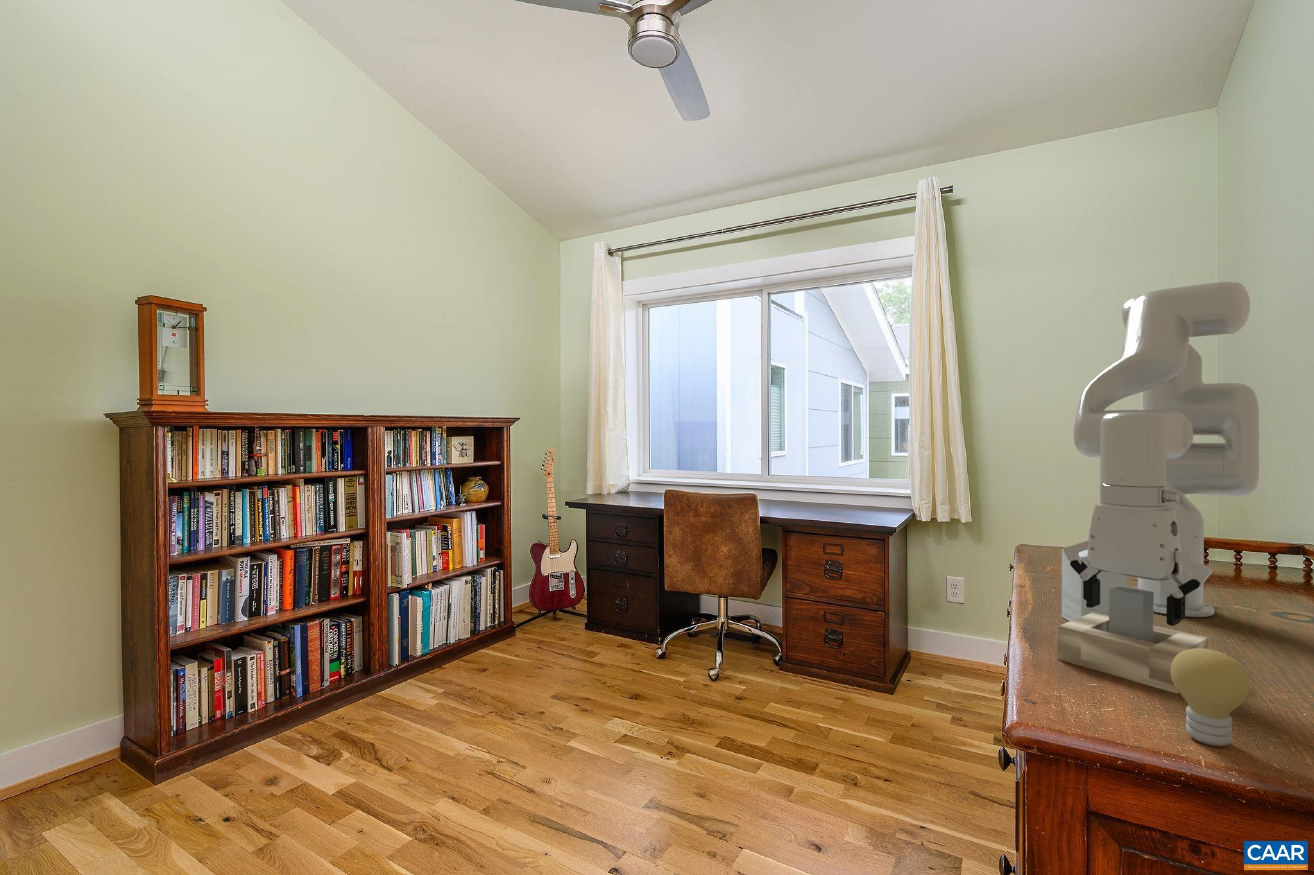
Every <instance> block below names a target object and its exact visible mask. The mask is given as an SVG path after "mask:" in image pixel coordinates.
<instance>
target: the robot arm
mask: <svg viewBox="0 0 1314 875" xmlns="http://www.w3.org/2000/svg"><path fill="white" fill-rule="evenodd" d="M1250 310H1251V302H1250V295H1249V293H1248V290H1247V289H1246V287H1245V286H1244V285H1243V284H1242V283H1240V282H1238V281H1237V282H1236V281H1220V282H1219V281H1218V282H1211V283H1203V284H1201V283H1200V284H1194V285H1186V286H1179V287H1177V286H1176V287H1170V288H1165V289H1164V288H1163V289H1158V290H1153V291H1149V292H1147V293H1144V294H1142V295H1141V294H1140V295H1138V296H1135V297H1133V298H1130V299H1129V300H1127V301H1126V302H1125V303H1124V304H1123V305H1122V309H1121V318H1122V322H1123V326H1124V328H1125V329H1124V335H1123V336H1124V337H1123V343H1122V347H1121V353H1120V359H1119V360H1117V361H1116V362H1114V363H1113V364H1111V365H1110V366H1109V367H1106V368H1105V369H1104V370H1103V371H1102V372H1100V373H1099V374H1098V375H1097V376H1096V377H1095V378H1093V380H1092V381H1090V382H1089V383H1088V384H1087V385H1086V387H1085V388H1084V390H1083V391H1082V393H1081V396H1080V398H1079V401H1078V405H1077V412H1076V415H1075V418H1074V419H1075V420H1074V425H1073V442H1074V446H1075V447H1076V450H1077V451H1078V452H1079V453H1080V454H1081V455H1083V456H1086V457H1089V458H1095V459H1096V458H1099V460H1100V461H1099V463H1100V464H1099V467H1100V468H1099V470H1100V471H1099V474H1100V475H1099V476H1100V477H1099V482H1100V484H1099V502H1098V503H1095V504H1094V508H1093V511H1092V515H1091V520H1090V526H1089V530H1088V532H1089V533H1088V540H1085V541H1083V542H1079V543H1076V544H1073V545H1069V546H1065V547H1064V548H1063V549H1064V550H1063V551H1064V553H1065V555H1066V557H1067V559H1068V560H1069V561H1070V566H1071V567H1072V568H1073V569H1074V570H1075V571H1076V572H1077V573H1078V574H1079V576H1080V579H1081V580H1083V599H1084V600H1086V607H1088V608H1093V607H1095V606H1098V605H1100V580H1099V579H1098V578H1097V575H1098V574H1099V573H1101V572H1102V571H1103V572H1108V573H1114V574H1119V575H1125V576H1128V577H1131V578H1137V588H1138V589H1144V590H1149V591H1154V612H1153V613H1159V614H1165V615H1166V624H1167V625H1168V626H1171V627H1175V626H1177V625H1178V624H1180V623H1181V621H1184V620H1185V618H1187V617H1189V618H1206V617H1211V616H1213V615H1215V607H1214V606H1212V605H1211V604H1209V603H1207V602H1204V583H1205V582H1206V580H1208V578H1209V577H1210V576H1211V574H1212V573H1213V569H1212V568H1211V567H1210V566H1208V565H1206V564H1205V563H1204V543H1205V542H1204V541H1205V538H1204V537H1205V536H1204V535H1205V534H1204V533H1205V520H1204V517H1203V515H1202V513H1201V511H1200V510H1199V508H1197V506H1195V504H1194V503H1192V502H1191V501H1190V500H1189V499H1188V498H1187V497H1186V495H1209V496H1228V497H1241V496H1248V495H1250V494H1252V493H1253V492H1254V491H1255V490H1256V488H1257V487H1258V483H1259V478H1260V477H1259V475H1260V411H1259V410H1260V408H1259V407H1260V406H1259V400H1258V397H1257V394H1256V393H1255V391H1254V390H1253V389H1252V387H1251V386H1249V385H1246V384H1243V383H1241V382H1240V383H1236V382H1220V383H1219V382H1218V383H1217V382H1216V383H1215V382H1214V383H1204V382H1203V380H1202V375H1203V374H1202V373H1203V372H1202V371H1203V370H1202V367H1203V366H1202V365H1203V359H1202V356H1201V355H1200V353H1199V352H1198V350H1197V349H1196V348H1194V346H1192V344H1190V343H1189V342H1190V338H1193V337H1194V338H1195V337H1208V336H1219V335H1228V334H1229V335H1230V334H1233V335H1234V334H1235V333H1237V332H1239V331H1241V329H1242V328H1243V327H1244V326H1245V325H1246V323H1247V321H1248V318H1249V315H1250ZM1140 393H1142V409H1124V410H1123V409H1121V410H1120V409H1116V410H1115V409H1114V410H1113V409H1112V410H1111V409H1110V410H1108V409H1107V408H1108V407H1110V406H1111V405H1113V404H1114V403H1116V402H1118V401H1120V400H1123V399H1124V398H1127V397H1130V396H1133V395H1136V394H1140ZM1194 436H1214V437H1215V436H1217V437H1220V438H1222V439H1223V440H1224V442H1193V440H1194ZM1085 550H1088V563H1089V565H1090V566H1089V567H1088V566H1087V565H1086V564H1085V563H1084V562H1083V561H1082V560H1081V559H1080V558H1079V552H1081V551H1085Z"/></svg>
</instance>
